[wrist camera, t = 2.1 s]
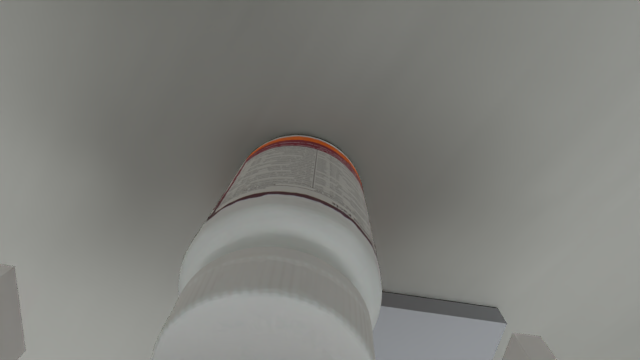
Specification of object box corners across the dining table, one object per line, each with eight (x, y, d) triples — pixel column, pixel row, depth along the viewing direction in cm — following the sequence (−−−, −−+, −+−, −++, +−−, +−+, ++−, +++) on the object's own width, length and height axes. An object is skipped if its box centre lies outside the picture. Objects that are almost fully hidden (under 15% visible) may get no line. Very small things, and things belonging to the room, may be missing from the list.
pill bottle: (305, 268, 21) (281, 514, 10) (211, 196, 20) (72, 395, 9) (389, 188, 19) (461, 385, 9) (291, 103, 18) (236, 213, 7)
